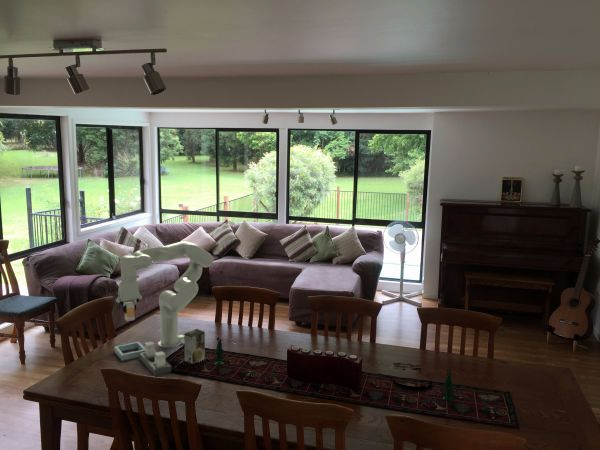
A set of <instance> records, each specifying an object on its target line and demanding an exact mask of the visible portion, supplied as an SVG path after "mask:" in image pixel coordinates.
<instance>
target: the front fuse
mask: <svg viewBox="0 0 600 450" xmlns="http://www.w3.org/2000/svg"><path fill="white" fill-rule="evenodd" d="M165 360H166V353H165V352H164V351H162V350H161V351H157V353H155V367H156V368H159V367H164V366H165Z"/></svg>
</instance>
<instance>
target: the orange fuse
mask: <svg viewBox="0 0 600 450" xmlns="http://www.w3.org/2000/svg"><path fill="white" fill-rule="evenodd" d="M126 309H127V313H126V314H125V313H124V320H125V321H126V322H130V321H135V320H136V319H135V318H136V316H135V315H136V314H135V313H136V310H135V311H134V303H133V301H128V302H127V301H126Z"/></svg>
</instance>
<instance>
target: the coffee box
mask: <svg viewBox="0 0 600 450" xmlns="http://www.w3.org/2000/svg"><path fill="white" fill-rule="evenodd" d="M205 335H206V333H205V330H204V331H203V330H201V329H198V328H195V329H193V330H190V331H187V332H186V333H184V335H183V336H184V339H183V340H184V362H186V363H190V364H192V365H194V364H196V363H198V362H199V363H201V362H203V361H205V360H204V359H206V348H205V345H206V343H205V341H206V340H205V339H206V336H205ZM202 360H203V361H202ZM200 361H201V362H200Z"/></svg>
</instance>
